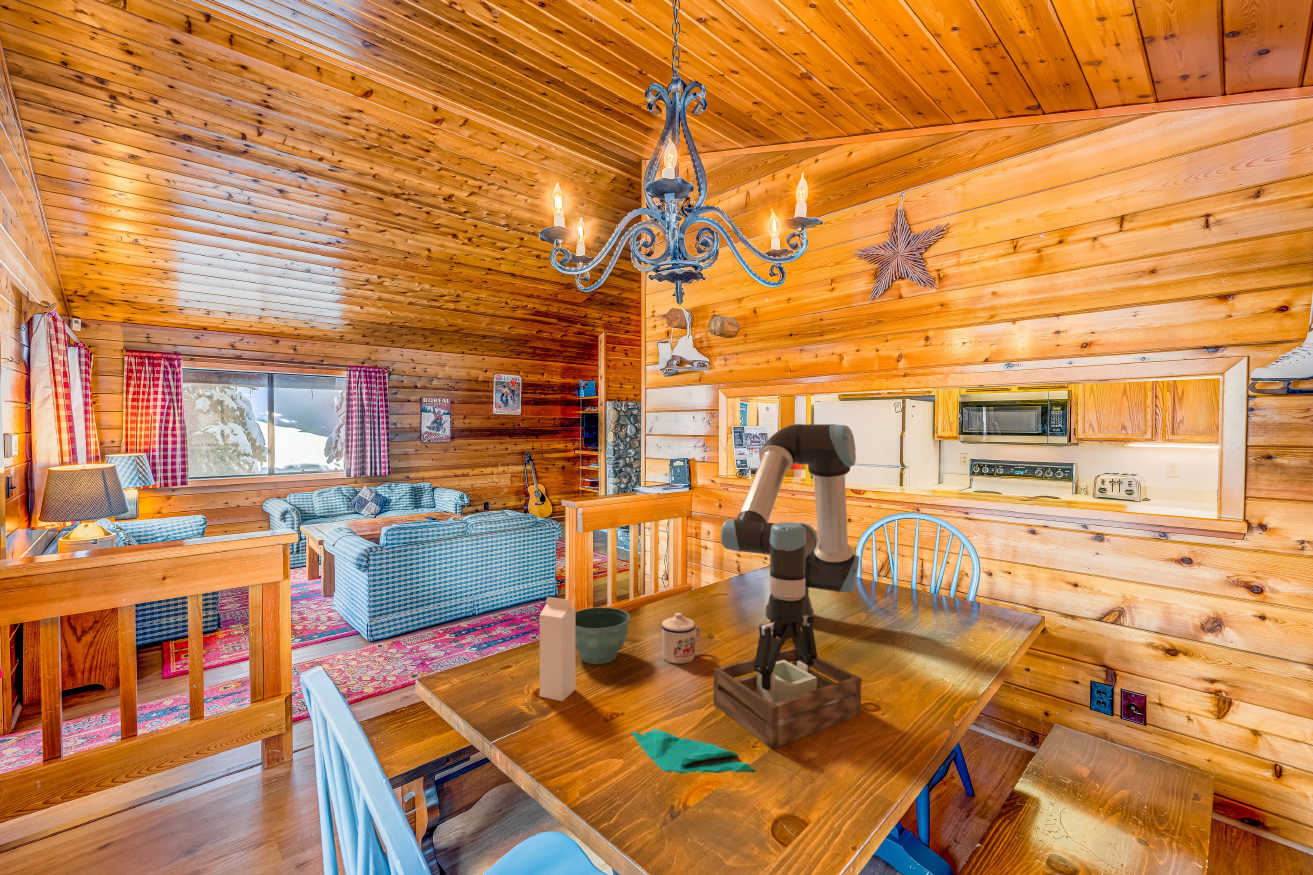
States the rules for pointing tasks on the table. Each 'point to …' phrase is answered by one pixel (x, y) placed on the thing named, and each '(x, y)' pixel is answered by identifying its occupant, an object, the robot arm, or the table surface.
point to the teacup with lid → (679, 639)
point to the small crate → (789, 683)
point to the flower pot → (600, 633)
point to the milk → (557, 649)
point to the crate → (787, 701)
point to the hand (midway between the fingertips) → (785, 697)
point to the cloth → (686, 754)
